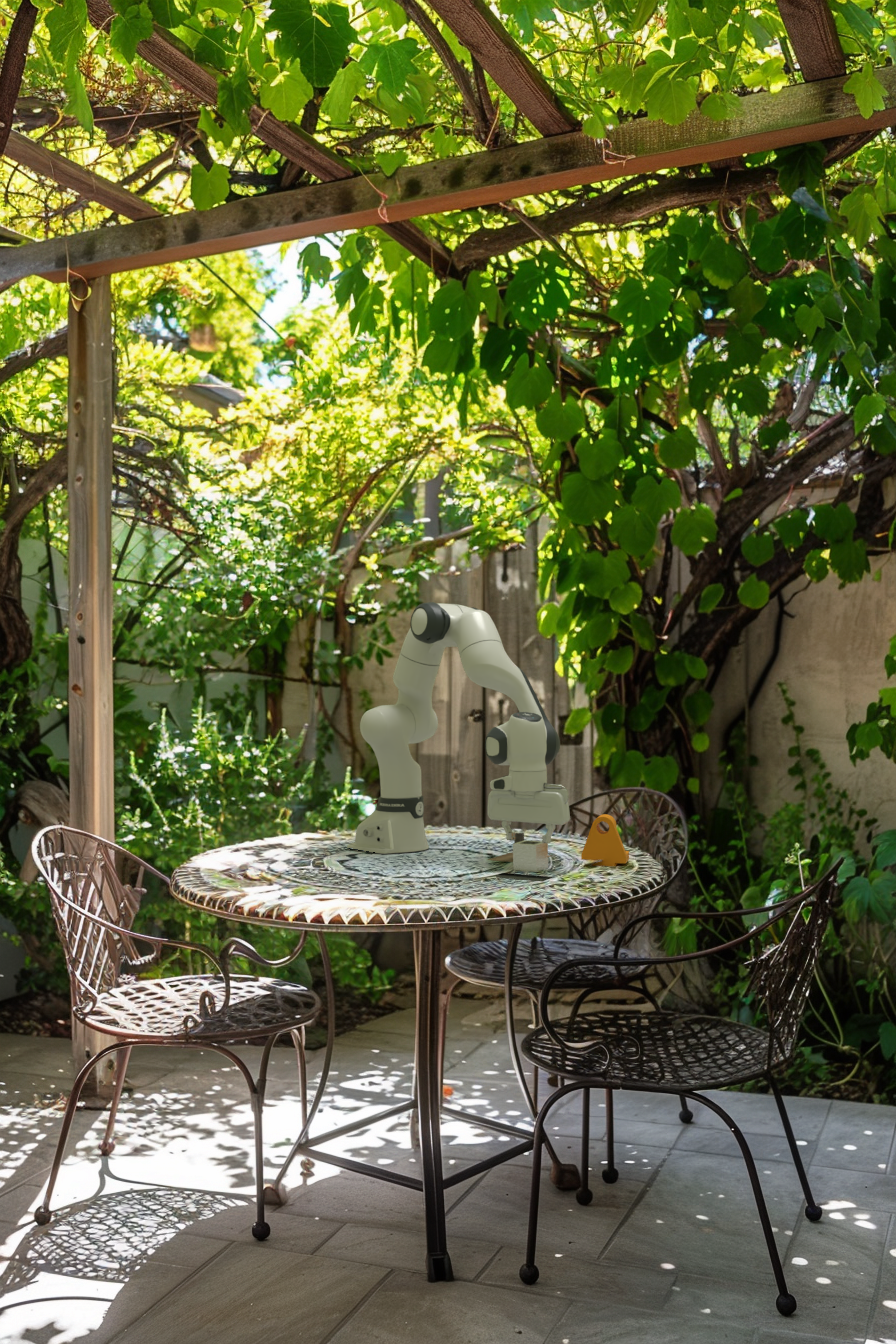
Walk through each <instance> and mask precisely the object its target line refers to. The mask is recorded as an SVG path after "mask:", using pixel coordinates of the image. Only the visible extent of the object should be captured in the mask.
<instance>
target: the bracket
mask: <svg viewBox="0 0 896 1344" xmlns="http://www.w3.org/2000/svg"><path fill="white" fill-rule="evenodd" d="M601 822H603V823H606V824H607V825H608V830H607V831H605V830H602V828H601V826H600V823H601ZM617 827H618V826H617V821H616V819H615V818H614V817H613V816H612V815H610V814H605V813H603V814H600V815H599V816H598V817H597V818H595V819H594V820H593V822H592V825H591V827H590V829H589V832H588V835H587V837H586V841H585V843H584V846H583V849H582V852H581V856H580V857H581V859H580V860H593V861H597V862H594V863H592V864H591V865H592V867H616V866H617V865H618V864H627V862H628V861H629V860H630V851H629V850H626V849H625V846H624V844H623V841H622V839H621V836H620V834H619V831H618V828H617Z"/></svg>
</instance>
